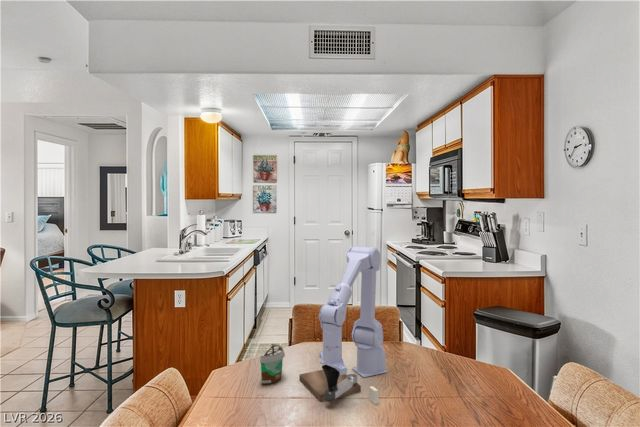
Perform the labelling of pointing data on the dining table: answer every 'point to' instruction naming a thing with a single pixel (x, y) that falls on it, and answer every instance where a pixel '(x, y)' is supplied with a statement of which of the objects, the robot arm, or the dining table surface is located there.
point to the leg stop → (373, 395)
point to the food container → (272, 365)
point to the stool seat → (323, 384)
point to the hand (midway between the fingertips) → (332, 389)
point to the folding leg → (341, 387)
